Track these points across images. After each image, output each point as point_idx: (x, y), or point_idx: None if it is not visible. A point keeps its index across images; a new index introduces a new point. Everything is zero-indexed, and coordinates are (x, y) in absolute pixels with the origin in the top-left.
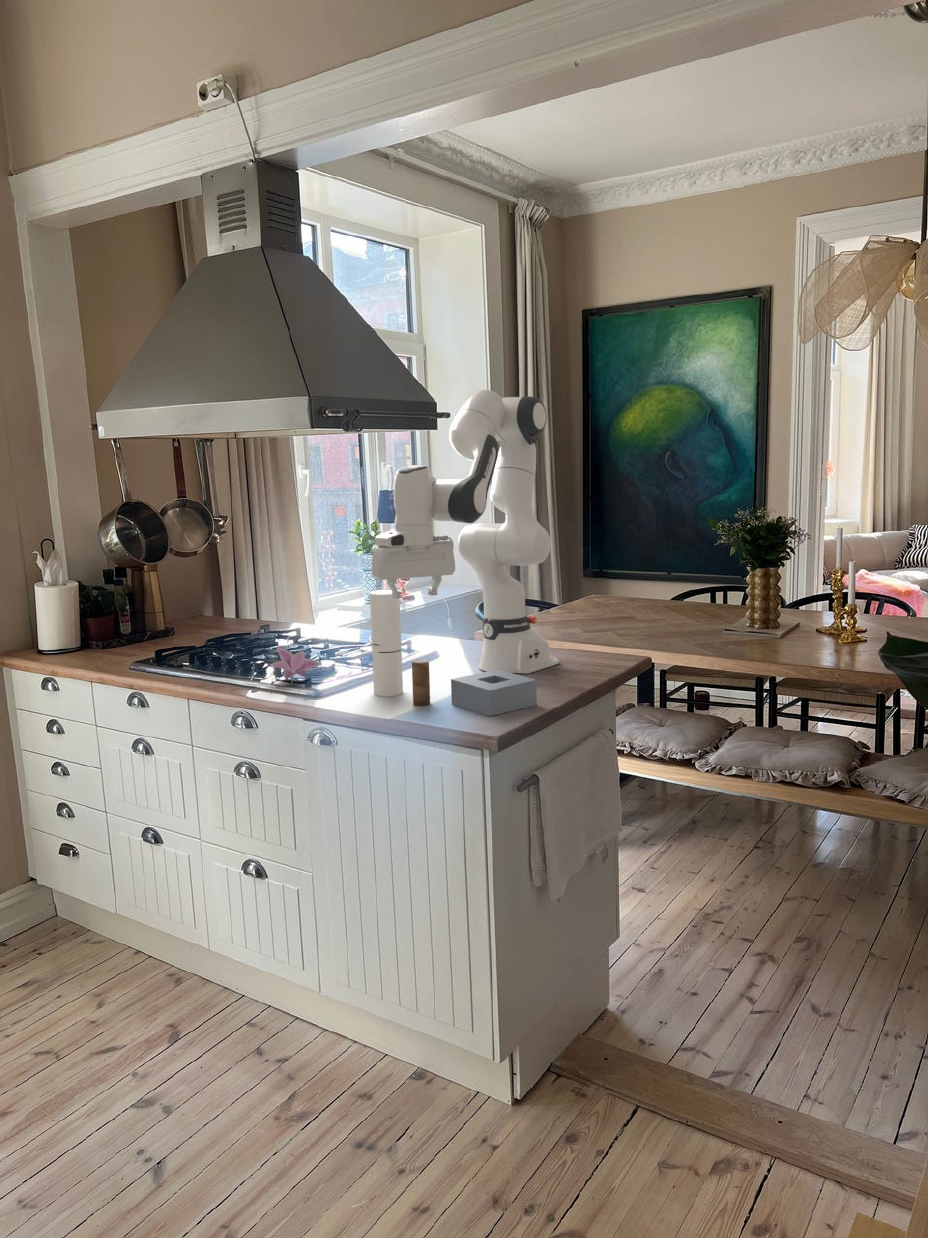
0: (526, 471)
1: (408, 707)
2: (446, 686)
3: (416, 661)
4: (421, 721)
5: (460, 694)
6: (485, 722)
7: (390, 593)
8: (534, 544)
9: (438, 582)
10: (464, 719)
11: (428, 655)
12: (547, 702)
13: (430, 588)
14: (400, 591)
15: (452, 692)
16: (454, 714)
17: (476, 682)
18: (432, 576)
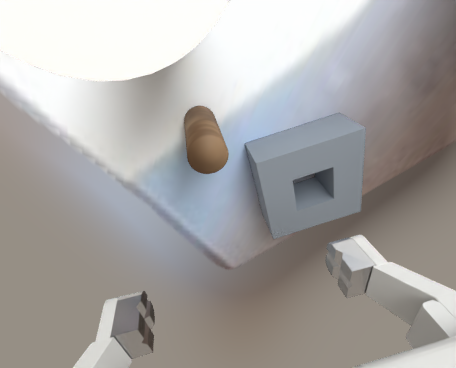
0: None
1: (171, 132)
2: (297, 4)
3: (202, 143)
4: (172, 205)
5: (255, 174)
6: (246, 229)
7: (125, 46)
8: None
9: (407, 319)
10: (229, 213)
11: None
12: None
13: (347, 287)
14: (148, 350)
15: (250, 154)
16: (226, 191)
17: (281, 197)
18: (440, 332)
